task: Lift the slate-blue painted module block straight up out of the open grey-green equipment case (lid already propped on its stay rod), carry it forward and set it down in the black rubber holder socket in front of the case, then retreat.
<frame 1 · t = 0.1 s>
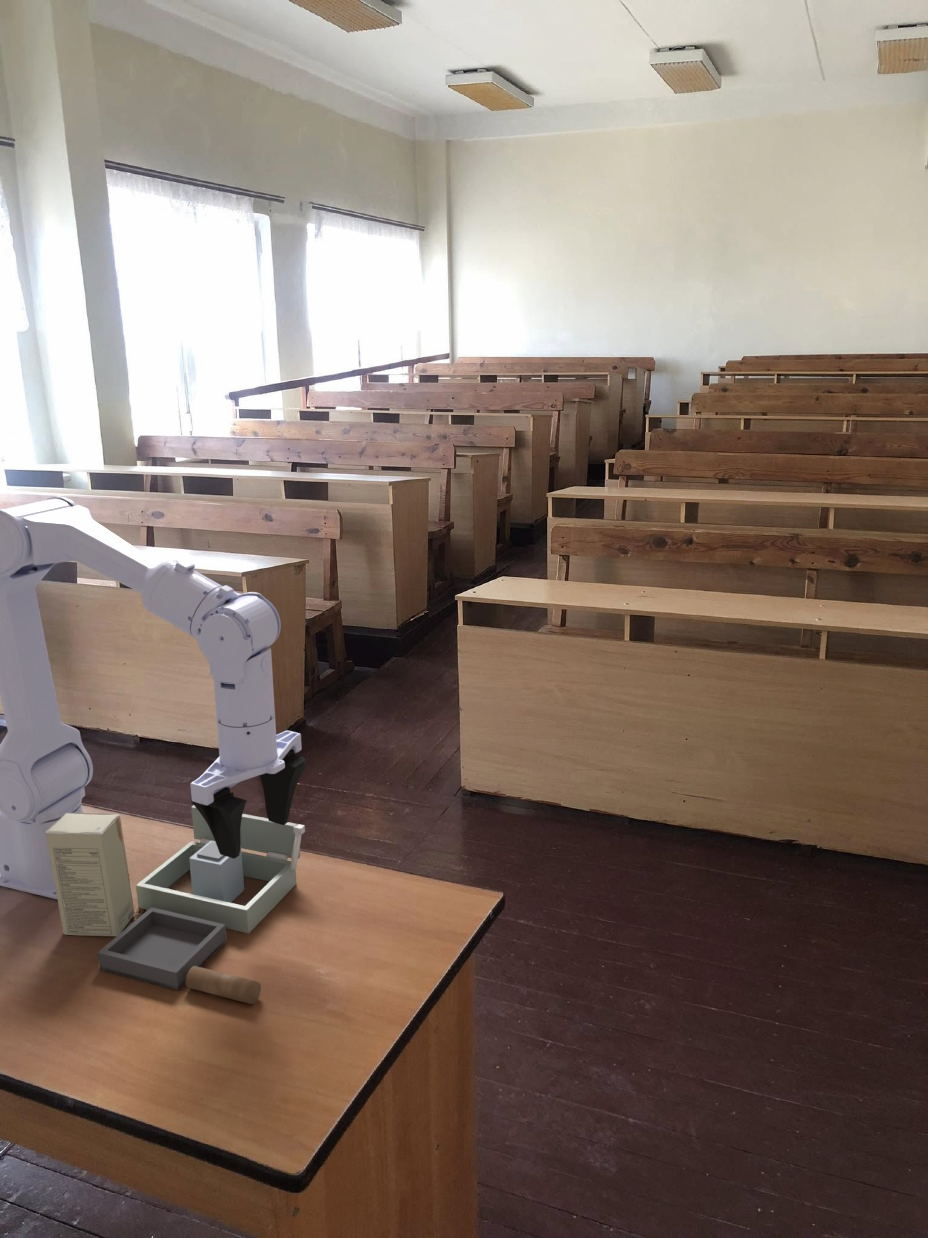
hand: (254, 838, 97), 10 cm above the table, fingers open, 7 cm apart
holder socket: (164, 955, 95), on the table
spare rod: (224, 993, 89), on the table
skincare box: (98, 926, 100), on the table
module: (219, 896, 105), resting in equipment case
equipment case: (219, 895, 105), on the table
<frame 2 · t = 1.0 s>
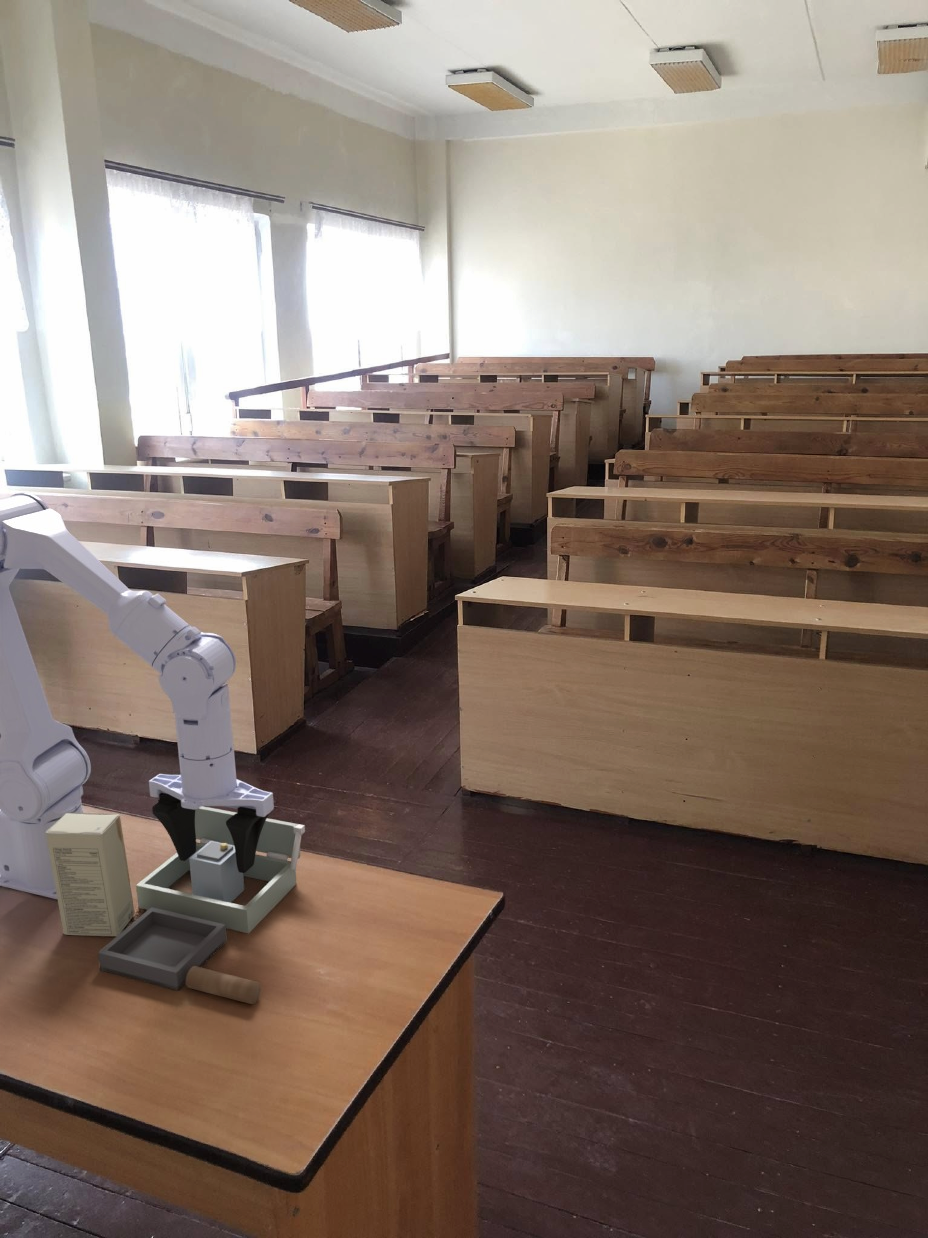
hand: (216, 862, 104), 4 cm above the table, fingers open, 7 cm apart
nothing on the table moved.
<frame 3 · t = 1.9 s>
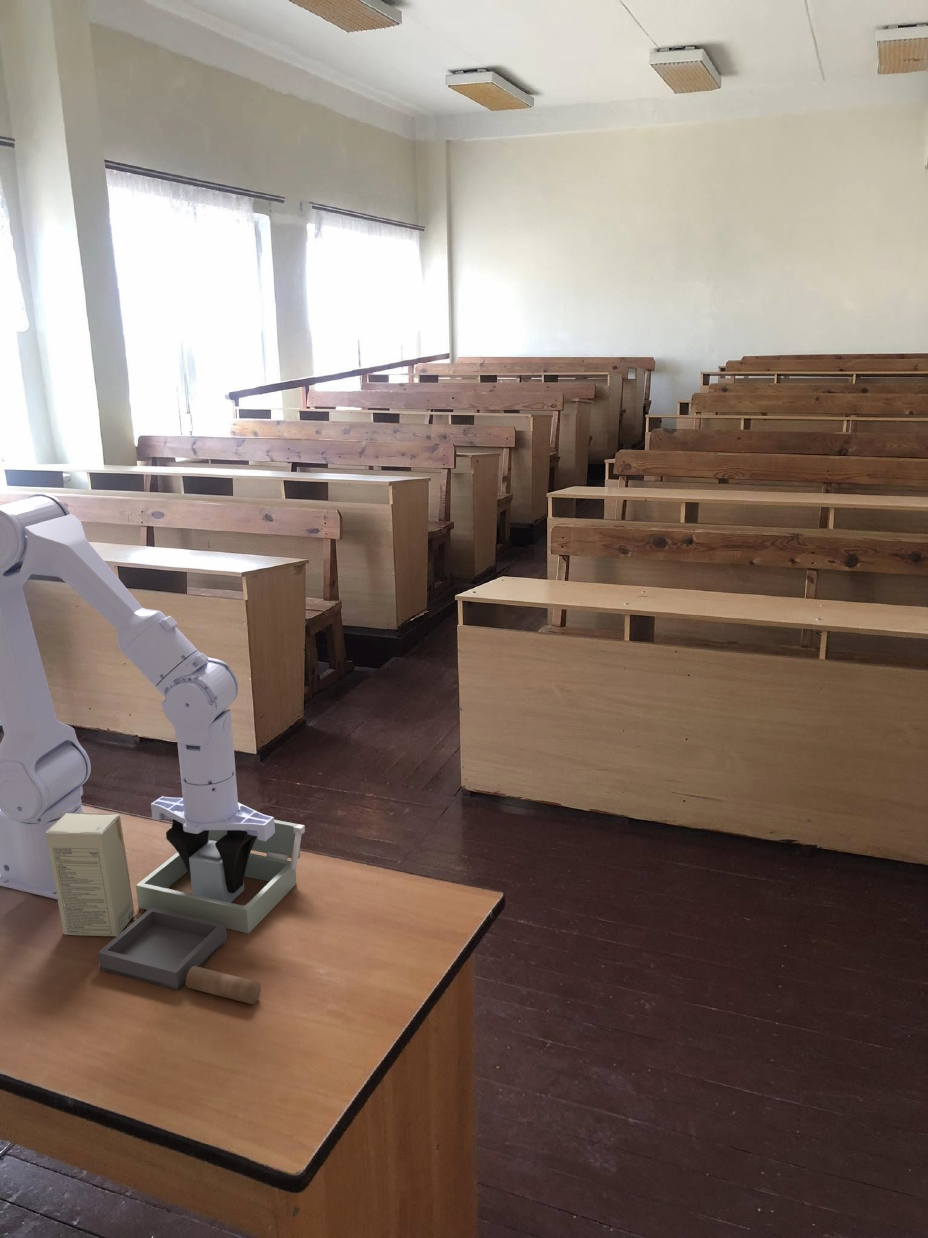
hand: (218, 884, 104), 1 cm above the table, fingers closed on module, 4 cm apart
module: (219, 895, 105), resting in equipment case, touching gripper
everything else where it was.
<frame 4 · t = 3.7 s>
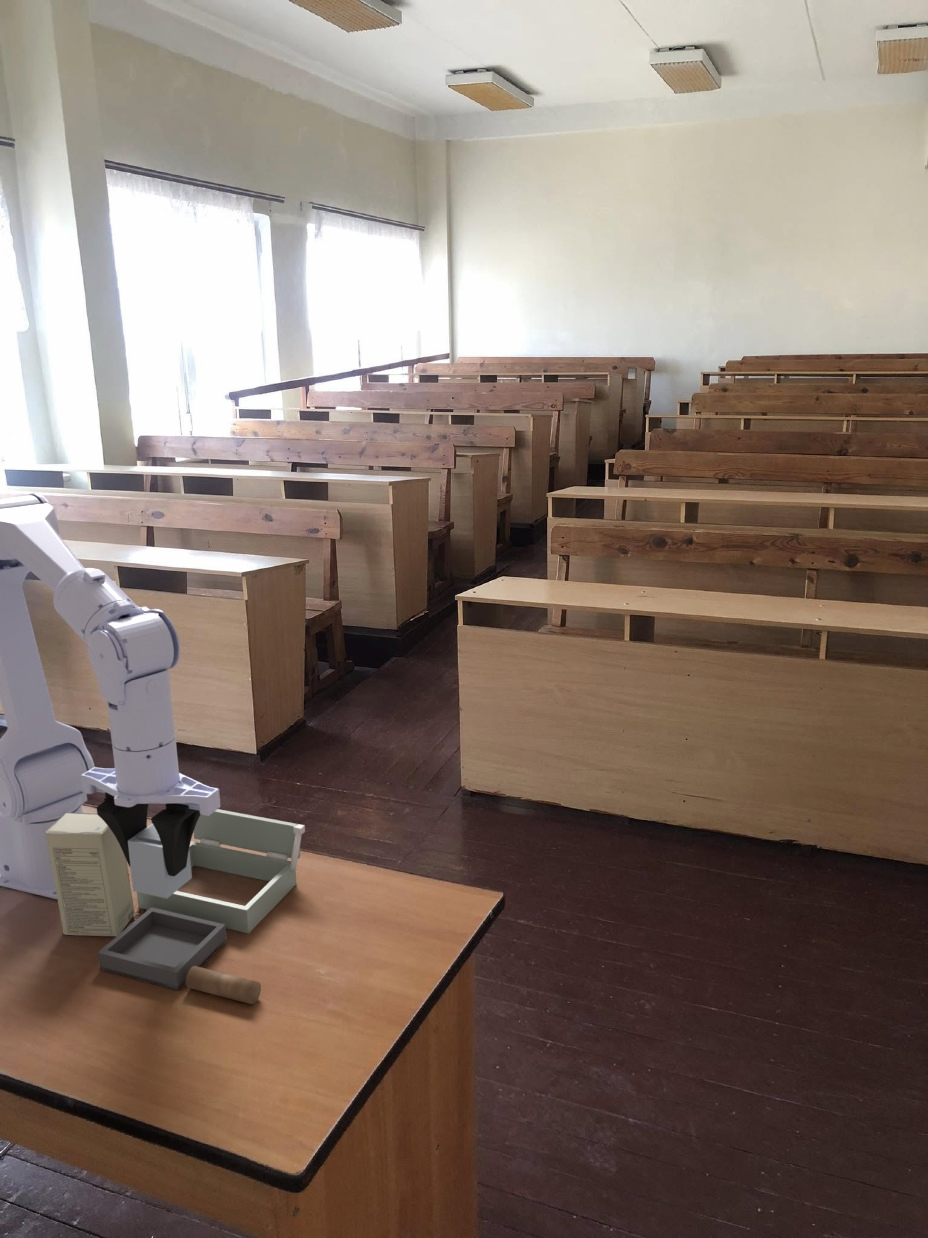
hand: (157, 866, 92), 10 cm above the table, fingers closed on module, 4 cm apart
module: (162, 884, 93), point 8 cm above the table, touching gripper
everything else where it was.
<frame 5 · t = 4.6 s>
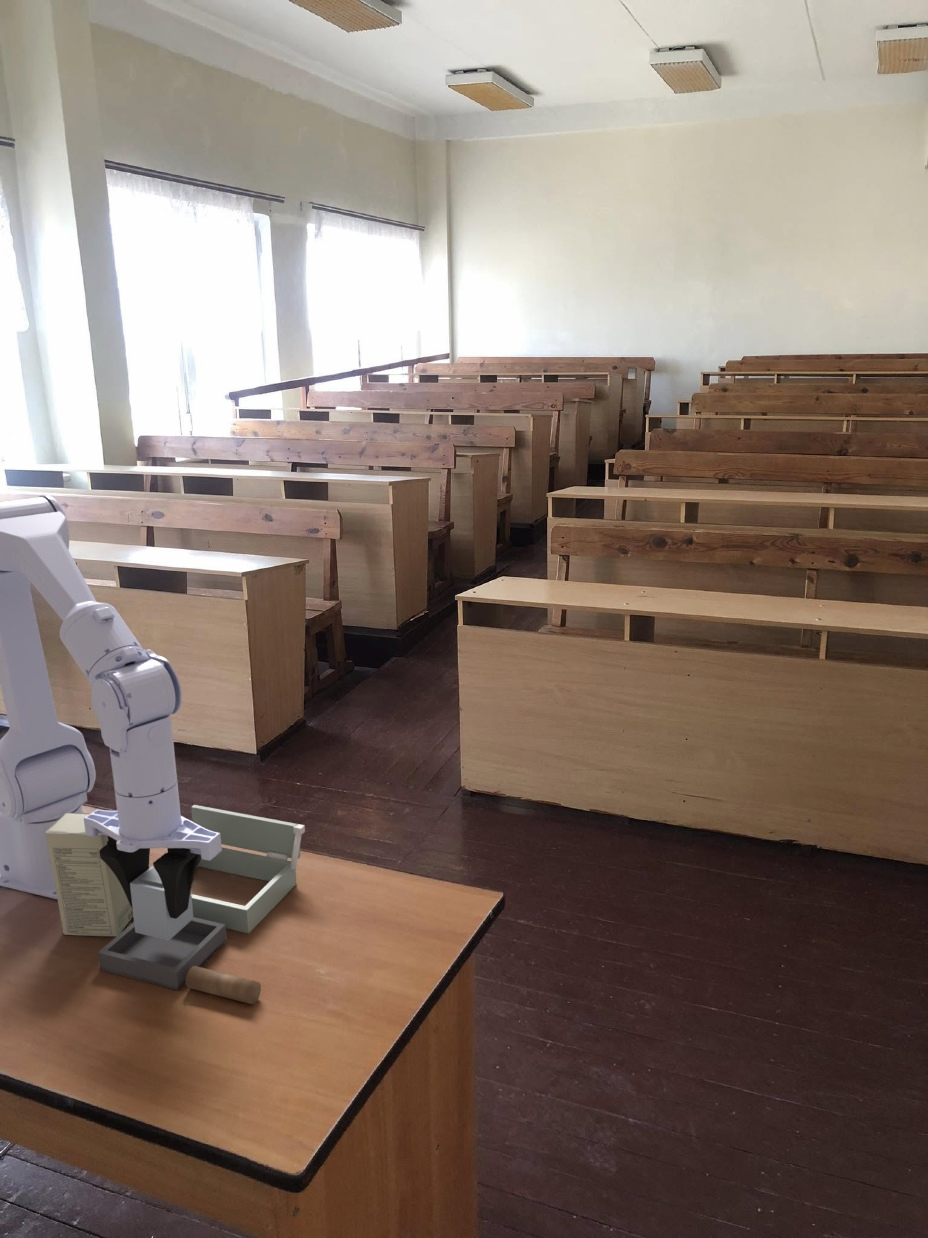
hand: (159, 908, 93), 5 cm above the table, fingers closed on module, 4 cm apart
module: (164, 925, 94), point 3 cm above the table, touching gripper
everything else where it was.
when the fingers open (3 cm above the table, at t = 5.5 s): module stays where it is, resting on holder socket.
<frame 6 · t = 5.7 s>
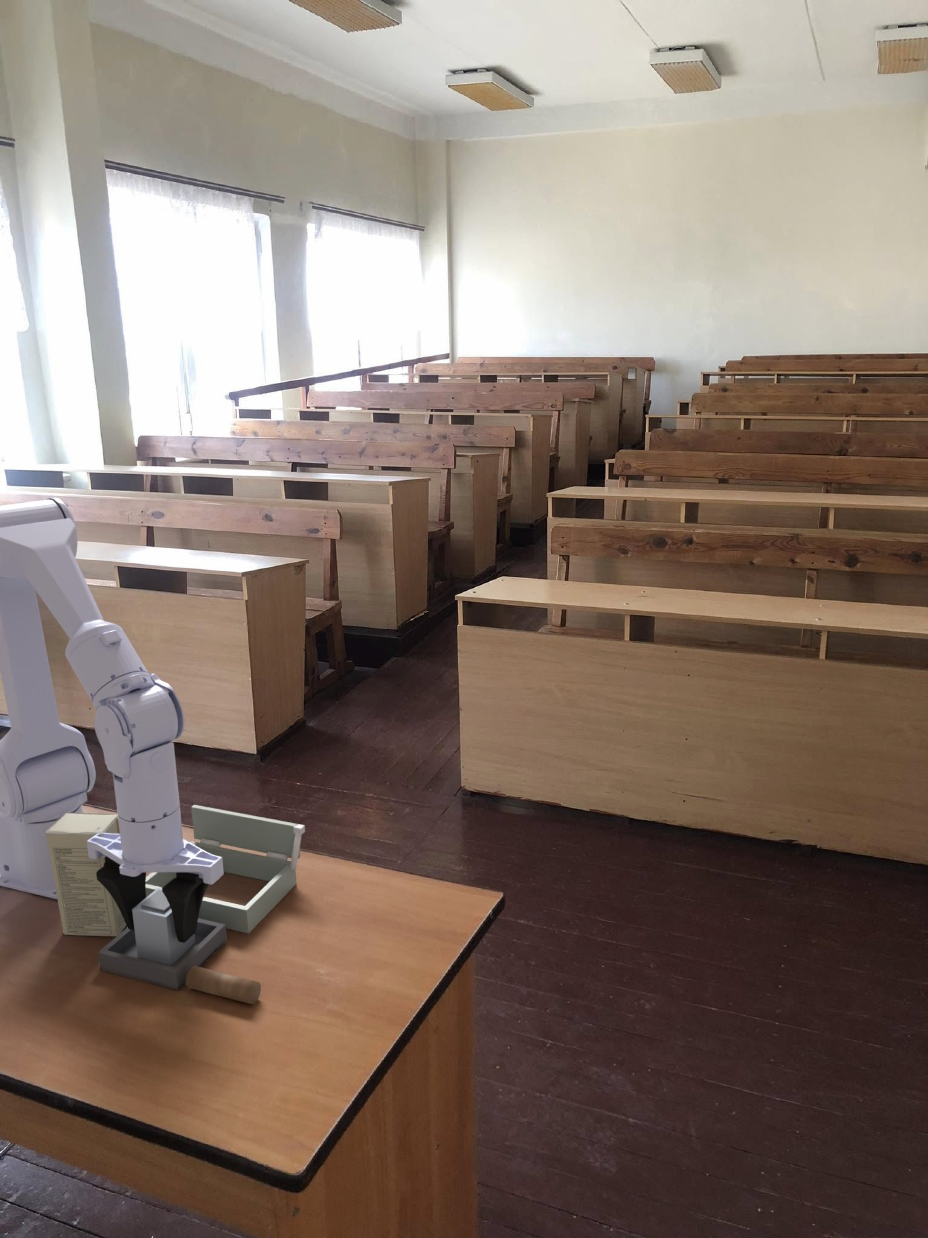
hand: (162, 930, 94), 3 cm above the table, fingers open, 5 cm apart
module: (166, 949, 95), resting on holder socket
everything else where it was.
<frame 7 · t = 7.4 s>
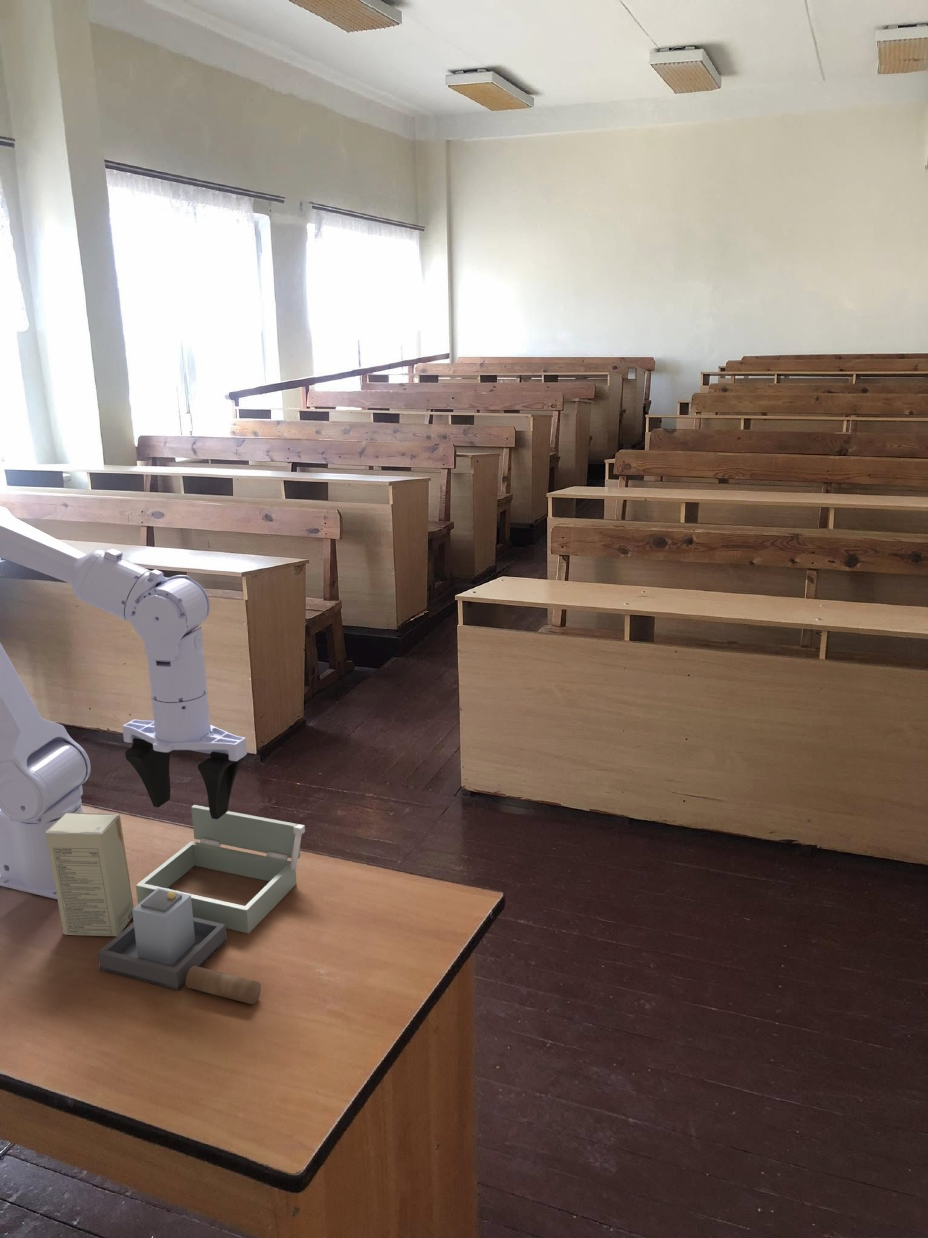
hand: (190, 809, 103), 10 cm above the table, fingers open, 7 cm apart
nothing on the table moved.
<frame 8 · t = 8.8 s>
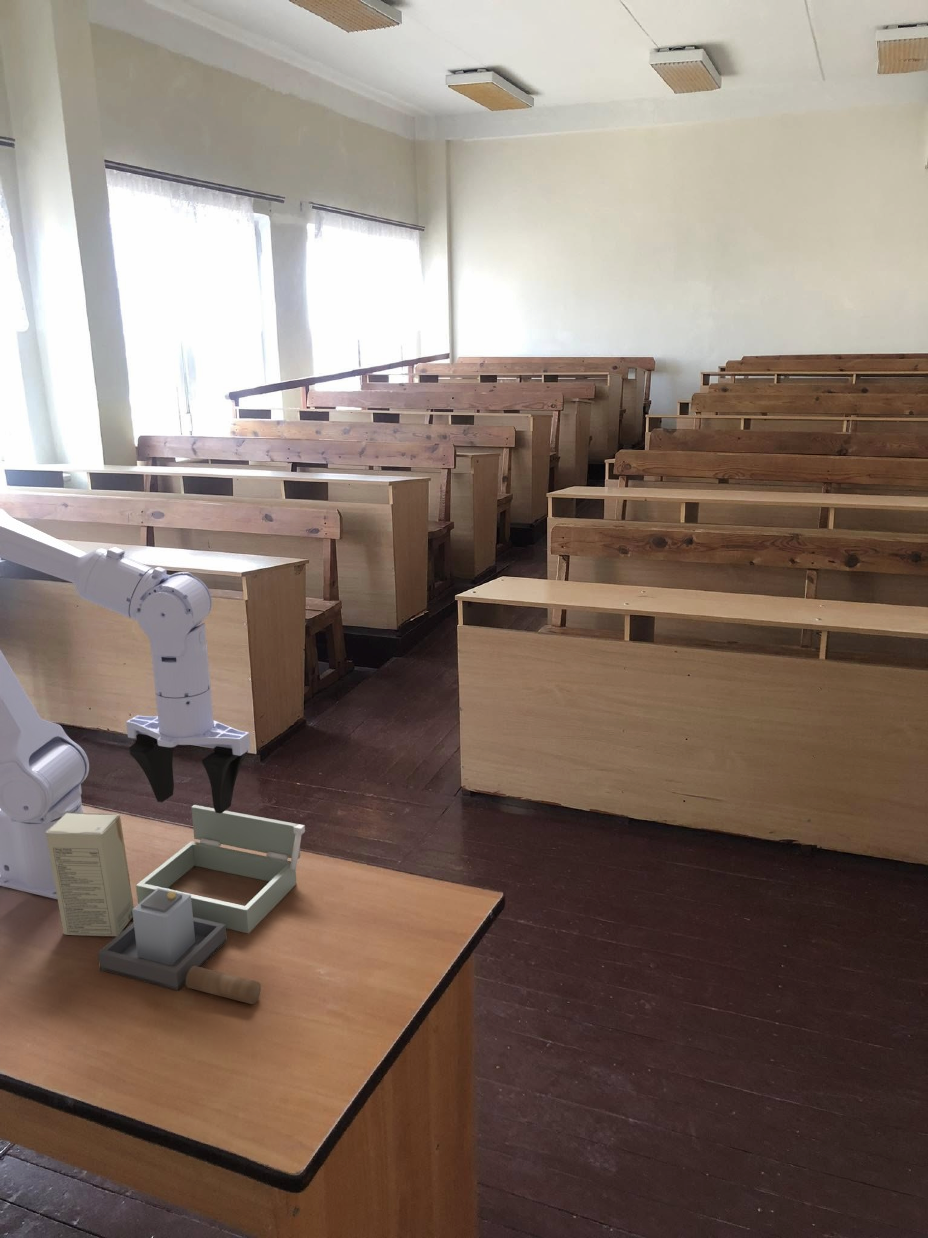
hand: (193, 803, 104), 10 cm above the table, fingers open, 7 cm apart
nothing on the table moved.
at the end: module inside the target area on the holder socket (0.4 cm from its centre), point 0.4 cm above the holder socket's base; module tilted 0°; the gripper is holding nothing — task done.
